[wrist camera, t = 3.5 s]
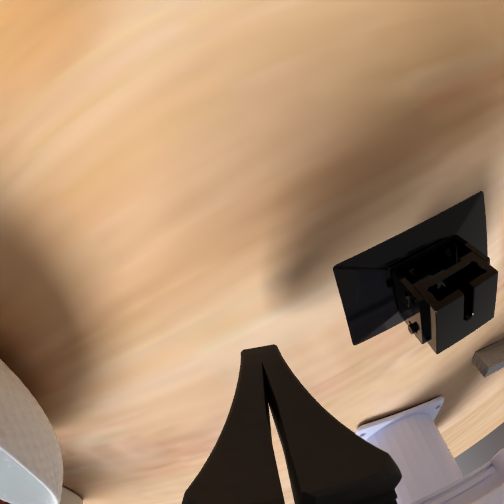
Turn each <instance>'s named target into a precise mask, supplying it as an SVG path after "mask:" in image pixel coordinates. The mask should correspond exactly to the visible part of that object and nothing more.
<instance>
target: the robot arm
mask: <svg viewBox="0 0 504 504" xmlns="http://www.w3.org/2000/svg"><path fill="white" fill-rule="evenodd" d="M268 403H269V405H268ZM443 403H444V398H443V397H442V396H441V397H438V398H436V399H433V400H431V401H428V402H426V403H423V404H421V405H419V406H416V407H413V408H411V409H408V410H406V411H403V412H400V413H397V414H395V415H392V416H389V417H386V418H383V419H380V420H377V421H374V422H371V423H368V424H364V425H362V426H360V427H358V428H357V430H356V433H354V432H352V431H351V430H350V429H348V428H347V427H346V426H344V425H343V424H342V423H340V422H339V421H338V420H337V419H335V418H334V417H333V416H332V415H331V414H330V413H328V412H327V411H326V410H325V409H324V408H323V407H322V406H321V405H320V404H319V403H318V402H317V401H316V400H315V399H314V398H313V397H312V396H311V394H310V393H309V392H308V391H307V390H306V389H305V388H304V386H303V385H302V384H301V383H300V381H299V380H298V379H297V378H296V376H295V375H294V374H293V372H292V371H291V369H290V368H289V366H288V365H287V363H286V362H285V360H284V359H283V357H282V355H281V353H280V351H279V349H278V347H277V346H276V345H268V346H263V347H257V348H251V349H245V350H243V351H242V352H241V365H240V372H239V378H238V383H237V387H236V392H235V395H234V399H233V402H232V405H231V408H230V412H229V414H228V417H227V420H226V423H225V425H224V427H223V430H222V432H221V434H220V436H219V439H218V441H217V443H216V445H215V447H214V449H213V451H212V452H211V454H210V456H209V458H208V459H207V461H206V463H205V464H204V466H203V468H202V469H201V471H200V472H199V474H198V475H197V477H196V478H195V479H194V481H193V482H192V483H191V485H190V486H189V487H188V489H187V490H186V492H185V494H184V497H183V501H182V504H285V502H284V497H283V493H282V488H281V483H280V479H279V474H278V469H277V465H276V460H275V455H274V450H273V445H272V437H271V427H270V416H269V406H270V409H271V413H272V416H273V419H274V422H275V425H276V429H277V432H278V435H279V438H280V441H281V444H282V447H283V451H284V455H285V459H286V464H287V469H288V474H289V478H290V483H291V488H292V492H293V497H294V502H295V504H504V448H503V449H502V450H500V451H499V452H498V453H497V454H496V455H495V456H494V457H493V458H492V460H491V461H489V462H488V463H486V464H484V465H483V466H481V467H480V468H478V469H476V470H475V471H473V472H471V473H469V474H468V475H466V476H464V477H463V475H462V473H461V471H460V469H459V468H458V465H457V464H456V462H455V460H454V458H453V456H452V454H451V452H450V450H449V449H448V447H447V445H446V443H445V441H444V439H443V438H442V436H441V434H440V432H439V430H438V429H437V427H436V425H435V423H434V422H433V421H434V420H435V418H436V416H437V414H438V412H439V410H440V408H441V406H442V405H443Z"/></svg>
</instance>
